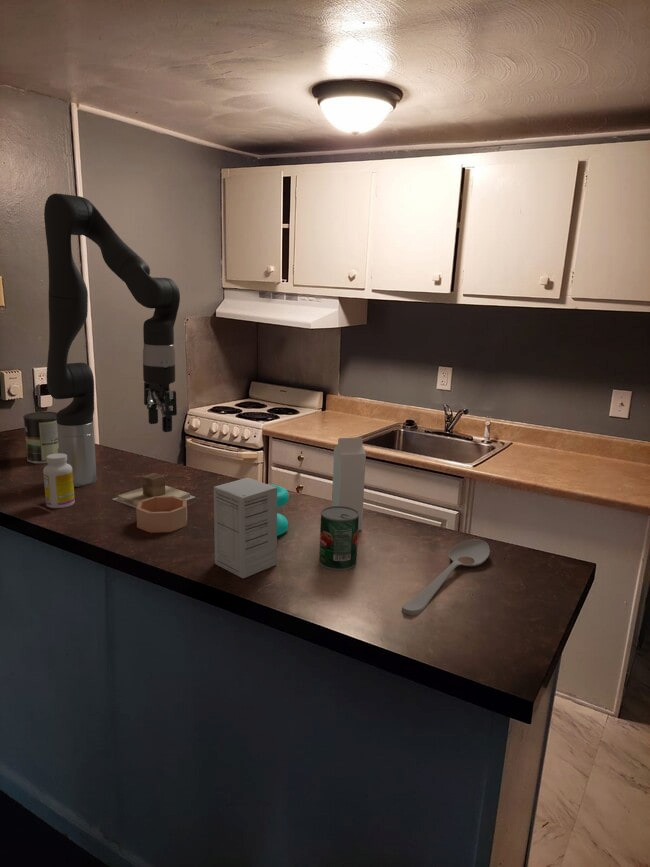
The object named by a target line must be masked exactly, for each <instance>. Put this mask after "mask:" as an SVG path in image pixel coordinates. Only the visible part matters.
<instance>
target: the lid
mask: <svg viewBox="0 0 650 867" xmlns="http://www.w3.org/2000/svg"><path fill="white" fill-rule="evenodd" d="M141 477H142V478H141V479H142V480H141V481H142V487H140V488H136V489H134V490H130V491H128V492H124V493H120V494H117V497H118V499H119V500H122V501H125V502H128V503H130V504H133V505H136V506H137V505H138V503H139V501H142V500H145V499H148V498H151V497H154V496H176V497H179V498H182V499H186V498H189V497H190V495H191V493H190V492H188V491H187V492H186V491H184V490H181V489H178V488H174V487H172V486H170V485H169V486H168V485H167V484H166V476H165V475H163V474H160V473H157V472H153V473H149V474H146V475H143V476H141Z"/></svg>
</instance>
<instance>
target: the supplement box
mask: <svg viewBox="0 0 650 867" xmlns="http://www.w3.org/2000/svg"><path fill="white" fill-rule="evenodd" d="M271 485H272V484H268V483H264V482H261V481H259V480H256V479H254V478H251V477H244V478H241V479H237V480H234V481H231V482H226V483H222V484H219V485H215V486H213V518H214V519H213V520H214V523H213V524H214V525H213V526H214V527H213V528H214V533H213V536H214V564H215V565H216V566H218V567H221V569H224V570H226V571H228V572H230V573H232V574H233V575H235V576H237V577H239V578H241V579H245V578H249V577H250V576H253V575H256V574H257V573H259V572H260V573H261V572H262V571H265V570H267V569H269V568H272V567H274V566H277V564H278V563H277V562H278V556H277V555H278V536H277V513H278V508H277V488H276V487H273V486H271Z"/></svg>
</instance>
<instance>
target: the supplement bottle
mask: <svg viewBox="0 0 650 867" xmlns="http://www.w3.org/2000/svg"><path fill="white" fill-rule="evenodd" d="M46 461H47V463H46V464H47V465H45V466H44V467H43V470H42V473H43V486H44V495H45V496H44V497H45V506H46V507H48V508H51V509H62V508H68V507H70V506H72V505H74V504H75V499H76V498H75V497H76V496H75V487H74V485H73V471H72V467H71V465H69V464H67V462H66V461H67V455H66V454H61V453H58V454H51V455H48V456H47V457H46Z"/></svg>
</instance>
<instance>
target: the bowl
mask: <svg viewBox="0 0 650 867" xmlns="http://www.w3.org/2000/svg"><path fill="white" fill-rule="evenodd" d="M135 511H136V529H140V530H142V531H145V532H148V533H150V534H151V533H172V532H174V531H176V530H179V529H182V528H185V527H187V522H188V500H185V499H182V498H179V497H176V496H154V497H151V498H148V499H145V500H142V501H139V503H138V505H137V508H135Z"/></svg>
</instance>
